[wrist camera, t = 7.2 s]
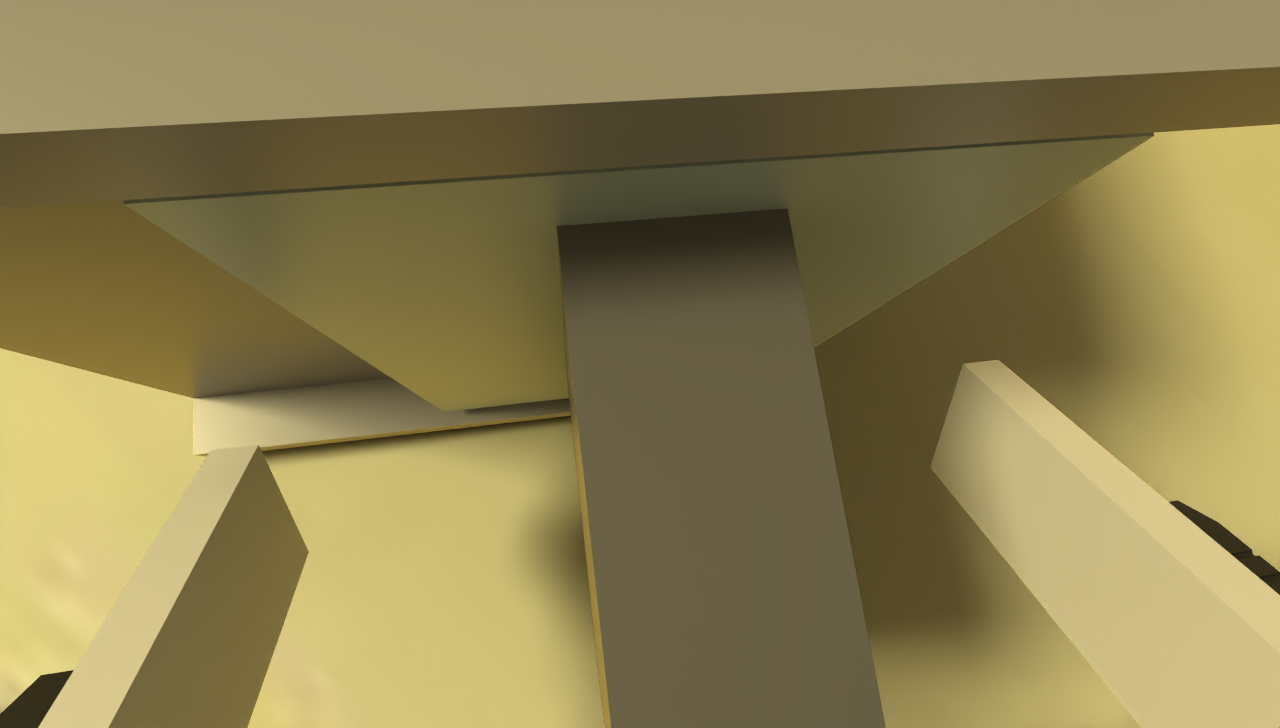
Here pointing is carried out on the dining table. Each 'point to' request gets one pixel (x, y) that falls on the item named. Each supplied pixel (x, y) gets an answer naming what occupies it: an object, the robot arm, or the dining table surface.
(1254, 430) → the dining table surface
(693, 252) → the door
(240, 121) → the camera box
